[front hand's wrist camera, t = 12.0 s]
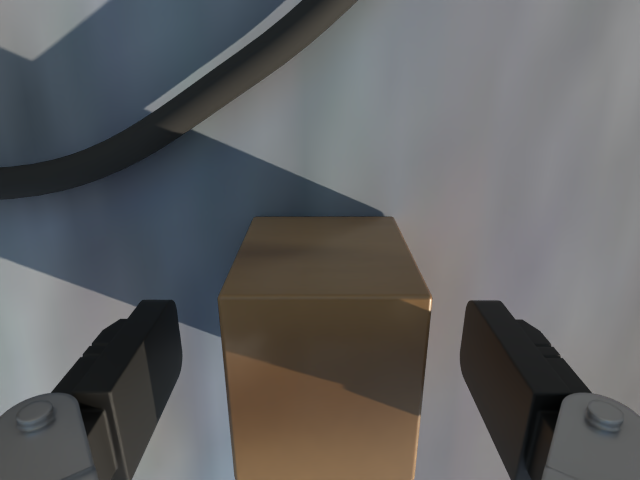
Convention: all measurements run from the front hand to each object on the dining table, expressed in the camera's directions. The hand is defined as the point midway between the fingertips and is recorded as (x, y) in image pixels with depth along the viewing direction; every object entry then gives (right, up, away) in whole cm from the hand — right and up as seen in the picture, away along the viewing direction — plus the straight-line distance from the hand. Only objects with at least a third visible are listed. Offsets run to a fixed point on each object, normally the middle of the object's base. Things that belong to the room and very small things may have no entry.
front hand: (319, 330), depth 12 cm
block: (0, +1, +2) cm, 2 cm away
